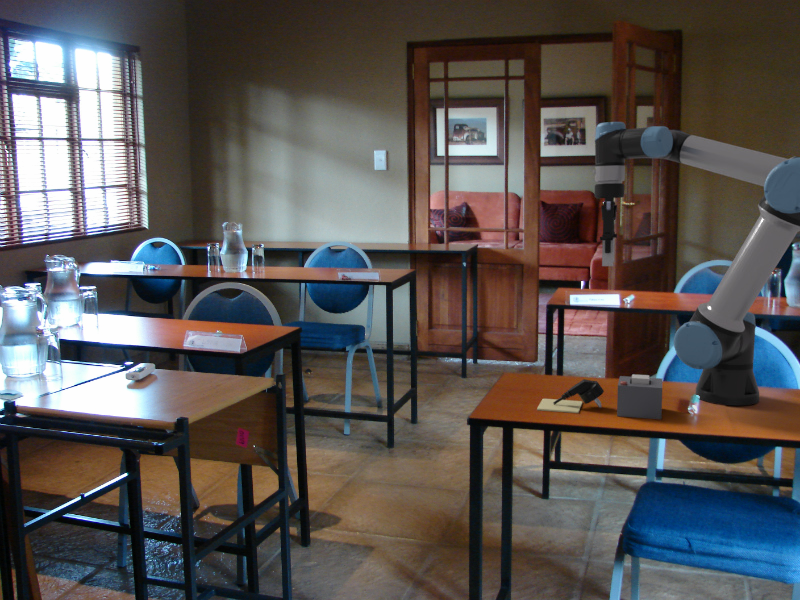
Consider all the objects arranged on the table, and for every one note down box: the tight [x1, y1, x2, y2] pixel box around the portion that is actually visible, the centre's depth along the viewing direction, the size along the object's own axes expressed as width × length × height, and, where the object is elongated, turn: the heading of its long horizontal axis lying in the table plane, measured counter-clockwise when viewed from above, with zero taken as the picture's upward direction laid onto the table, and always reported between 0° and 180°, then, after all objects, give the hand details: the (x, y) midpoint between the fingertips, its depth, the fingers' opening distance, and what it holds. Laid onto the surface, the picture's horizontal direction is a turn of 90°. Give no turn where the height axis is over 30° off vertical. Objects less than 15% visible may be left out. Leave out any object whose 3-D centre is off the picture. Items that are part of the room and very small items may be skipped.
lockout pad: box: [536, 398, 583, 414], centre depth 194 cm, size 10×10×1 cm
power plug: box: [553, 378, 605, 409], centre depth 193 cm, size 6×8×12 cm
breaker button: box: [631, 374, 650, 385], centre depth 187 cm, size 4×4×4 cm
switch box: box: [616, 375, 663, 420], centre depth 188 cm, size 10×10×8 cm
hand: (608, 264), depth 206 cm, fingers open, 13 cm apart
